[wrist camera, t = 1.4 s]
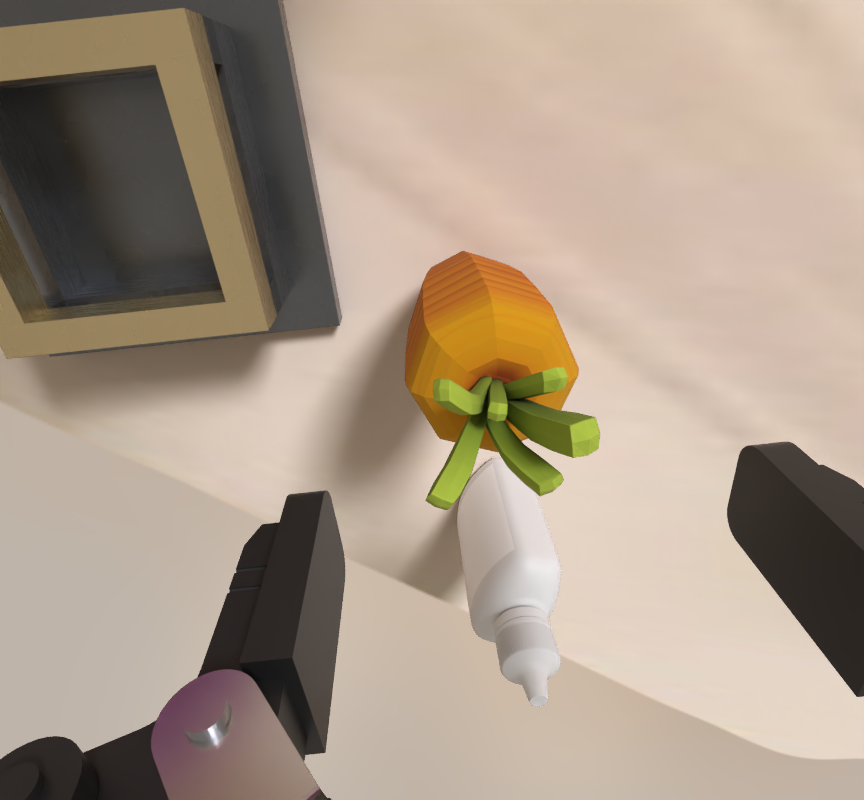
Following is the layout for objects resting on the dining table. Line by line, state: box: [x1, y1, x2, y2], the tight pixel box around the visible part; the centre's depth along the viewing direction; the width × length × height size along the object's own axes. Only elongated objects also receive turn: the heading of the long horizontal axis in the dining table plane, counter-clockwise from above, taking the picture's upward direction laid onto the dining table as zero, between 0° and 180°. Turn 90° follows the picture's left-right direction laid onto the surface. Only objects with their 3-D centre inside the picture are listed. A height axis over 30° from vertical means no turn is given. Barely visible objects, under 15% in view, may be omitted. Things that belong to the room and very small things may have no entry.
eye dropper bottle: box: [457, 458, 561, 707], centre depth 25 cm, size 4×6×12 cm
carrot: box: [405, 251, 600, 510], centre depth 18 cm, size 5×5×15 cm
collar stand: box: [0, 0, 342, 359], centre depth 19 cm, size 13×13×6 cm
